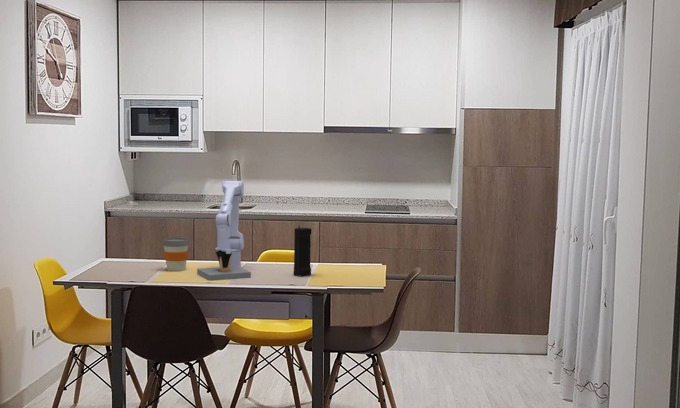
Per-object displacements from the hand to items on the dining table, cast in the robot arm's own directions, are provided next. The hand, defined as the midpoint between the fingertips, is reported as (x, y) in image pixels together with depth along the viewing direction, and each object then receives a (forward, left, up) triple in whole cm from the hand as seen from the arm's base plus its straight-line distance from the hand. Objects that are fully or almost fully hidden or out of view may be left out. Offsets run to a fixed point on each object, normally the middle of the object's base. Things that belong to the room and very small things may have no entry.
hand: (223, 266), depth 380 cm
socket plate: (0, 0, -4) cm, 4 cm away
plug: (0, +1, -3) cm, 3 cm away
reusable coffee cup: (-26, -16, -4) cm, 31 cm away
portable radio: (+14, +35, -4) cm, 38 cm away
